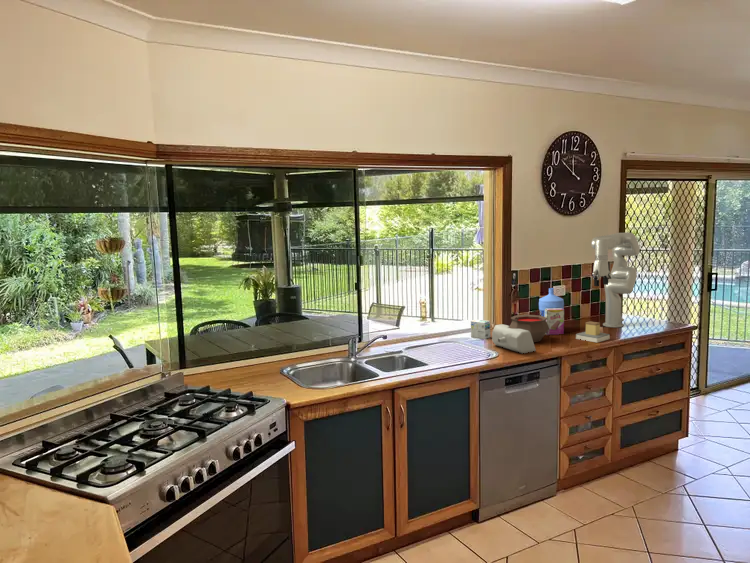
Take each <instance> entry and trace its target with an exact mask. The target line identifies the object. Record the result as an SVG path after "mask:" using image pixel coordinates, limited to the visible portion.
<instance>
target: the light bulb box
mask: <svg viewBox="0 0 750 563" xmlns="http://www.w3.org/2000/svg"><path fill="white" fill-rule="evenodd" d="M470 337H471V338H473V339H480V340H486V339H489V338H491V321H490V320H482V319H473V320H470Z"/></svg>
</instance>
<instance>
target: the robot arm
mask: <svg viewBox="0 0 750 563" xmlns="http://www.w3.org/2000/svg"><path fill="white" fill-rule="evenodd" d="M590 246H591V248H592V249H593V250H594V262H593V269H592V270H593V271H592V273H591V274H592V279H593V286H594V287H600V277H603V279H602V284H603V285H604V293H605V294H604V295H605V319H604V320H605V322H603V323H602V327H606V328H623V327H624V326H625V325H624V324H623V323H622V322H624V320H625V319H624V318H623V317H622V298H621V296H620V295H619V294H622V295H623V294H624V295H625V294H626V295H627V294H629V295H630V294H631V293H632V292H634V291H633V290H634V288H635V284H636V282H637V277H638V276H637V275H638V272H637V269H636V268H635V267H633V266H628V261H627V259H625V257H623V256H630V257H631V256H632V257H633V256H637V255H639V253H640V250H641V248H640V244H639V242H638V239H637V237H636V235H635V234H634V233H633V232H616V233H612V234H606V235H601V236H600V235H599V236H595V237H592V239H591V243H590ZM609 250H611V255H612V259H613V265H612V268H611V271H610V270H609Z"/></svg>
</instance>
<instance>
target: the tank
mask: <svg viewBox="0 0 750 563" xmlns="http://www.w3.org/2000/svg"><path fill="white" fill-rule="evenodd" d="M509 327H510V325H507V324H495V325H494V327H493V330H492V332H491V335H492V336H491V340H492V341H491V342H493V344H494V345H495V346H496V347H500V348H502V347H503V349H507V350H509V351H513V352H515V353H518V352H519V354H523V353H524V354H528V352H529V353H533V351H534V352H536V345H535V342H533V339H532V336H531V333H530V332H529V331H528V330H524V329H512V328H509Z"/></svg>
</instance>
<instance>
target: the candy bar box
mask: <svg viewBox="0 0 750 563" xmlns="http://www.w3.org/2000/svg"><path fill="white" fill-rule="evenodd" d="M545 317H546V318H547V319H546V322H547V324H548V327H549V330H548V331H547V332H546V334H545V336H554V335H555V336H556V335H557V336H559V334H565V309H562V308H549V309H545Z"/></svg>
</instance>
